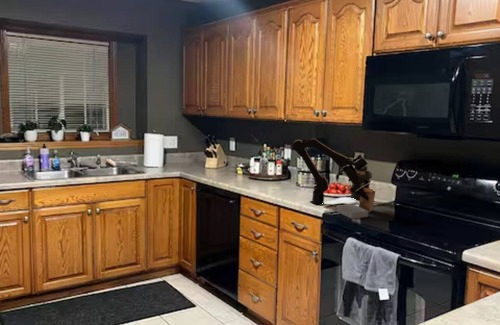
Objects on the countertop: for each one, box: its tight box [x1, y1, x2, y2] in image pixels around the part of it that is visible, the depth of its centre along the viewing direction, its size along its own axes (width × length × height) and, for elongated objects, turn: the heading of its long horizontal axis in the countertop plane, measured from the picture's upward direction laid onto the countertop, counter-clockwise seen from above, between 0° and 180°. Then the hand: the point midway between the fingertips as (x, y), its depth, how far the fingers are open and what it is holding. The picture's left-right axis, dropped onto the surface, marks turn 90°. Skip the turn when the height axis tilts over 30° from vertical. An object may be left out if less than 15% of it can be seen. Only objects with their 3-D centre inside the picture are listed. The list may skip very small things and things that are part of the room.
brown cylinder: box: [358, 190, 376, 213], centre depth 239 cm, size 6×6×10 cm
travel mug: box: [350, 165, 368, 201], centre depth 262 cm, size 8×8×20 cm
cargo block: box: [364, 187, 374, 193], centre depth 238 cm, size 4×4×3 cm
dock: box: [336, 204, 370, 219], centre depth 233 cm, size 12×11×3 cm
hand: (369, 198), depth 238 cm, fingers closed on brown cylinder, 6 cm apart
